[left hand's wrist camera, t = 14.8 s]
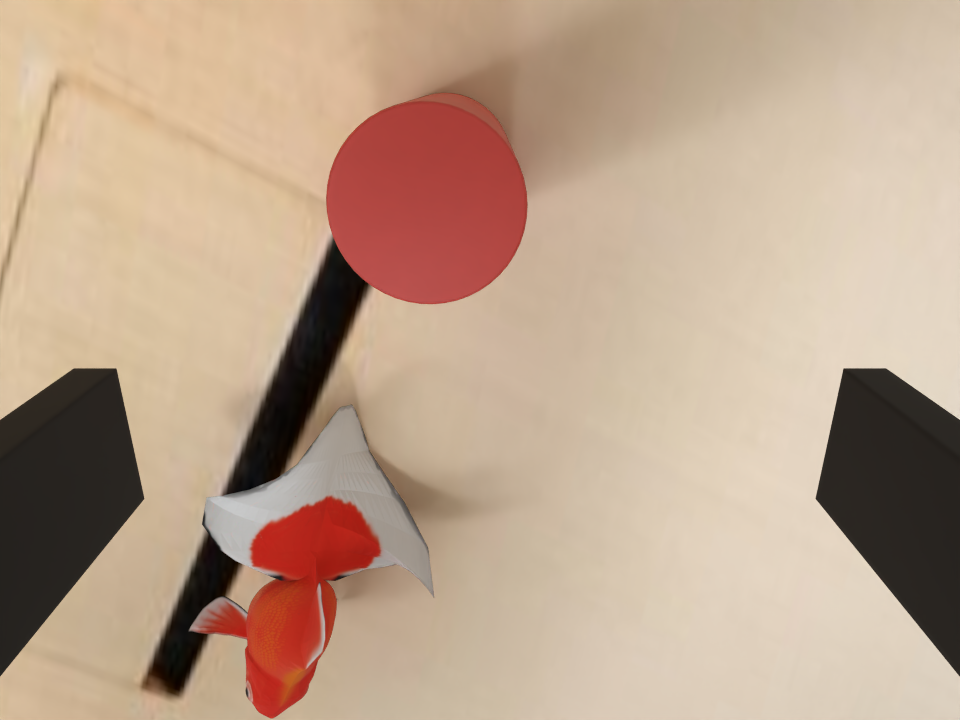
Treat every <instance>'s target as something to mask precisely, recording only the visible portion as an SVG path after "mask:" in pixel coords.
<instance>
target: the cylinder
mask: <svg viewBox="0 0 960 720" xmlns="http://www.w3.org/2000/svg"><path fill="white" fill-rule="evenodd" d="M326 202H327V214H328V220H329V225H330V228H331V231H332V234H333V237H334V240H335V242H336V244H337V246H338V248H339V250H340V252H341V253H342V255H343V256H344V258H345V260H346V261H347V262H348V264H349V265H350V266H351V267H352V268H353V270H354V271H355V272H356V273H357V274H358V275H359V276H360V277H361V278H362V279H364V280H365V281H366V282H368V283H369V284H370V285H371V286H373V287H374V288H376V289H378V290H380V291H381V292H383V293H385V294H387V295H390V296H392V297H394V298H397V299H400V300H404V301H407V302H413V303H419V304H439V303H447V302H452V301H456V300H459V299H462V298H465V297H468V296H470V295H472V294H474V293H476V292H478V291H480V290H481V289H483V288H484V287H486V286H487V285H489V284H490V283H491V282H492V281H493V280H494V279H496V278H497V277H498V276H499V275H500V274H501V273H502V272H503V270H504V269H505V268H506V267H507V266H508V264H509V263H510V261H511V260H512V258H513V257H514V255H515V253H516V251H517V249H518V247H519V245H520V242H521V239H522V236H523V233H524V230H525V224H526V219H527V191H526V187H525V182H524V177H523V174H522V172H521V169H520V166H519V163H518V161H517V159H516V156H515V154H514V152H513V150H512V147H511V145H510V143H509V141H508V138H507V136H506V134H505V132H504V130H503V128H502V126H501V124H500V123H499V121H498V120H497V119H496V117H495V116H494V115H493V114H492V113H491V112H490V111H489V110H488V109H487V108H486V107H484V106H483V105H481V104H480V103H478V102H477V101H475V100H473V99H471V98H469V97H466V96H463V95H459V94H453V93H437V94H431V95H428V96H424V97H421V98H417V99H414V100H411V101H407V102H404V103H401V104H397V105H394V106H391V107H389V108H386V109H384V110H382V111H380V112H378V113H376V114H374V115H373V116H371V117H369V118H368V119H367V120H365V121H364V122H363V123H362V124H360V125H359V126H358V127H357V128H356V129H355V130H354V131H353V132H352V133H351V134H350V135H349V137H348V138H347V139H346V141H345V142H344V144H343V145H342V146H341V148H340V150H339V152H338V154H337V156H336V158H335V160H334V162H333V165H332V168H331V171H330V175H329V179H328V184H327V196H326Z"/></svg>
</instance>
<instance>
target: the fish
mask: <svg viewBox="0 0 960 720" xmlns="http://www.w3.org/2000/svg"><path fill="white" fill-rule="evenodd" d="M202 525H203V526H204V528H205V529H206V530H207V532H208V533H209V535H210V536H211V538H212V539H213V541H214V542H215V543H216V545H217V546H218V548H219V549H220V550H221V551H223V552H224V553H226V554H227V555H228V556H230V557H231V558H233V559H234V560H236V561H237V562H239V563H242V564H244V565H246V566H248V567H250V568H252V569H254V570H257V571H259V572H261V573H264V574H266V575H268V576H271V577H273V578H276V579H275V580H273V581H271V582H270V583H268V584H266V585H265V586H264V587H262V588H261V589H260V590H259V591H258V593H257V594H256V595H255V597H254V598H253V600H252V602H251V604H250V606H249V610H248V613H247V612H246V611H245V610H244V609H243V608H242V607H241V606H239V605H238V604H237V603H235V602H234V601H232V600H230V599H229V598H227V597H225V596H220V597H218V598H216V599H215V600H213V601H212V602H211V603H209V604H208V605H207V606H206V607H204V608H203V609H202V611H201V612H200V614H199V615H198V616H197V618H196V619H195V621H194V622H193V624H192V625H191V627H190V629H189V631H188V632H198V633H206V634H221V635H231V636H235V637H239V638H244V639H247V641H248V646H247V647H246V649H245V656H246V695H247V698H248V699H249V700H250V701H251V702H252V703H253V705H254V706H255V708H256V709H257V711H258V712H259V713H261V714H263V715H265V716H267V717H269V718H274V717H276V716H278V715H279V714H280V713H282V712H283V711H285V710H286V709H287V708H289V707H290V706H292V705H293V704H295V703H296V702H297V701H299V700H300V699H301V698H303V697H304V695H305V694H306V693H307V691H308V688H309V683H310V682H311V680H312V678H313V676H314V673H315V669H316V666H317V662H318V660H319V658H320V657H321V655H322V654H323V652H324V651H325V649H326V647H327V645H328V642H329V640H330V637H331V634H332V630H333V626H334V621H335V616H336V606H337V599H336V596H335V593H334V590H333V588H332V587H331V586H330V584H329V583H328V582H327V581H326V580H331V581H336V580H338V579H341V578H344V577H346V576H349V575H352V574H354V573H357V572H360V571H362V570H365V569H371V568H380V567H386V566H391V565H396V564H397V565H399V566H401V567H403V568H405V569H407V570H409V571H410V572H411V573H413V574H414V575H415V576H416V577H417V578H418V579H419V580H420V581H421V582H422V583H423V584H424V585H425V586H426V587H427V589H428V590H429V591H430V593H431V594H432V596H433V597H434V592H433V584H432V576H431V568H430V560H429V551H428V547H427V545H426V543H425V541H424V539H423V537H422V535H421V533H420V531H419V529H418V528H417V526H416V524H415V522H414V520H413V518H412V516H411V514H410V512H409V510H408V508H407V506H406V504H405V503H404V501H403V500H402V498H401V497H400V495H399V494H398V493H397V491H396V490H395V488H394V487H393V485H392V484H391V482H390V481H389V480H388V478H387V477H386V475H385V474H384V472H383V471H382V469H381V468H380V466H379V465H378V463H377V462H376V460H375V459H374V457H373V456H372V454H371V453H370V451H369V448H368V445H367V441H366V438H365V435H364V432H363V429H362V427H361V424H360V421H359V419H358V416H357V413H356V410H355V409H354V407H353V406H352V405H348V406H344V407H340V408H339V409H338V411H337V412H336V413H335V414H334V415H333V416H332V418H331V419H330V421H329V422H328V424H327V425H326V426H325V428H324V429H323V431H322V432H321V433H320V435H319V436H318V437H317V439H316V440H315V441H314V442H313V444H312V445H311V446H310V448H309V449H308V450H307V452H306V453H305V454H304V456H303V457H302V459H301V460H300V461H299V463H298V464H297V465H296V466H294V467H293V468H291V469H290V470H288V471H287V472H286V473H284V474H283V475H281V476H280V477H278V478H277V479H275V480H272V481H270V482H268V483H265V484H263V485H260V486H258V487H255V488H253V489H251V490H246V491H242V492H238V493H233V494H229V495H224V496H216V497H208V498H207V499H206V504H205V510H204V516H203V522H202Z"/></svg>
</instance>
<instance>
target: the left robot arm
mask: <svg viewBox="0 0 960 720" xmlns="http://www.w3.org/2000/svg"><path fill="white" fill-rule="evenodd" d="M143 500H144V495H143V490H142V486H141V481H140V476H139V472H138V467H137V462H136V458H135V453H134V448H133V444H132V439H131V434H130V430H129V425H128V420H127V416H126V411H125V406H124V402H123V397H122V392H121V388H120V383H119V379H118V374H117V369H73V370H71V371H70V372H68V373H67V374H65V375H64V376H63V377H61V378H60V379H58V380H57V381H55V382H54V383H52V384H51V385H50V386H48V387H47V388H45V389H44V390H42V391H41V392H40V393H38V394H37V395H35V396H34V397H32V398H31V399H30V400H28V401H27V402H25V403H24V404H22V405H21V406H20V407H18V408H17V409H15V410H14V411H12V412H11V413H10V414H8V415H7V416H5V417H4V418H2V419H1V420H0V676H1V675H2V674H3V672H4V671H5V670H6V669H7V667H8V666H9V665H10V664H11V662H12V661H13V660H14V659H15V657H16V656H17V655H18V654H19V653H20V651H21V650H22V649H23V648H24V646H25V645H26V644H27V643H28V641H29V640H30V639H31V638H32V637H33V635H34V634H35V633H36V632H37V630H38V629H39V628H40V627H41V625H42V624H43V623H44V622H45V621H46V619H47V618H48V617H49V616H50V614H51V613H52V612H53V611H54V609H55V608H56V607H57V606H58V604H59V603H60V602H61V601H62V600H63V598H64V597H65V596H66V595H67V593H68V592H69V591H70V590H71V588H72V587H73V586H74V585H75V584H76V582H77V581H78V580H79V579H80V577H81V576H82V575H83V574H84V572H85V571H86V570H87V569H88V568H89V566H90V565H91V564H92V563H93V561H94V560H95V559H96V558H97V556H98V555H99V554H100V553H101V551H102V550H103V549H104V548H105V547H106V545H107V544H108V543H109V542H110V540H111V539H112V538H113V537H114V535H115V534H116V533H117V532H118V531H119V529H120V528H121V527H122V526H123V524H124V523H125V522H126V521H127V519H128V518H129V517H130V516H131V515H132V513H133V512H134V511H135V510H136V508H137V507H138V506H139V505H140V503H141V502H142V501H143ZM816 500H817V501H818V502H819V503H820V505H821V506H822V507H823V508H824V510H825V511H826V512H827V513H828V515H829V516H830V517H831V518H832V519H833V521H834V522H835V523H836V524H837V526H838V527H839V528H840V529H841V531H842V532H843V533H844V534H845V535H846V537H847V538H848V539H849V540H850V542H851V543H852V544H853V545H854V547H855V548H856V549H857V550H858V551H859V553H860V554H861V555H862V556H863V558H864V559H865V560H866V561H867V563H868V564H869V565H870V566H871V568H872V569H873V570H874V571H875V572H876V574H877V575H878V576H879V577H880V579H881V580H882V581H883V582H884V584H885V585H886V586H887V587H888V588H889V590H890V591H891V592H892V593H893V595H894V596H895V597H896V598H897V600H898V601H899V602H900V603H901V604H902V606H903V607H904V608H905V609H906V611H907V612H908V613H909V614H910V616H911V617H912V618H913V619H914V621H915V622H916V623H917V624H918V625H919V627H920V628H921V629H922V630H923V632H924V633H925V634H926V635H927V637H928V638H929V639H930V640H931V641H932V643H933V644H934V645H935V646H936V648H937V649H938V650H939V651H940V653H941V654H942V655H943V656H944V657H945V659H946V660H947V661H948V662H949V664H950V665H951V666H952V667H953V669H954V670H955V671H956V672H957V674H958V675H959V676H960V420H959V419H958V418H956V417H955V416H953V415H952V414H950V413H949V412H948V411H946V410H945V409H943V408H942V407H940V406H939V405H938V404H936V403H935V402H933V401H932V400H930V399H929V398H928V397H926V396H925V395H923V394H922V393H920V392H919V391H918V390H916V389H915V388H913V387H912V386H910V385H909V384H908V383H906V382H905V381H903V380H902V379H900V378H899V377H897V376H896V375H895V374H893V373H892V372H890V371H889V370H887V369H843V374H842V379H841V383H840V388H839V392H838V397H837V402H836V406H835V411H834V416H833V420H832V425H831V430H830V434H829V439H828V444H827V448H826V453H825V458H824V462H823V467H822V472H821V476H820V481H819V486H818V490H817V495H816Z"/></svg>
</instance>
